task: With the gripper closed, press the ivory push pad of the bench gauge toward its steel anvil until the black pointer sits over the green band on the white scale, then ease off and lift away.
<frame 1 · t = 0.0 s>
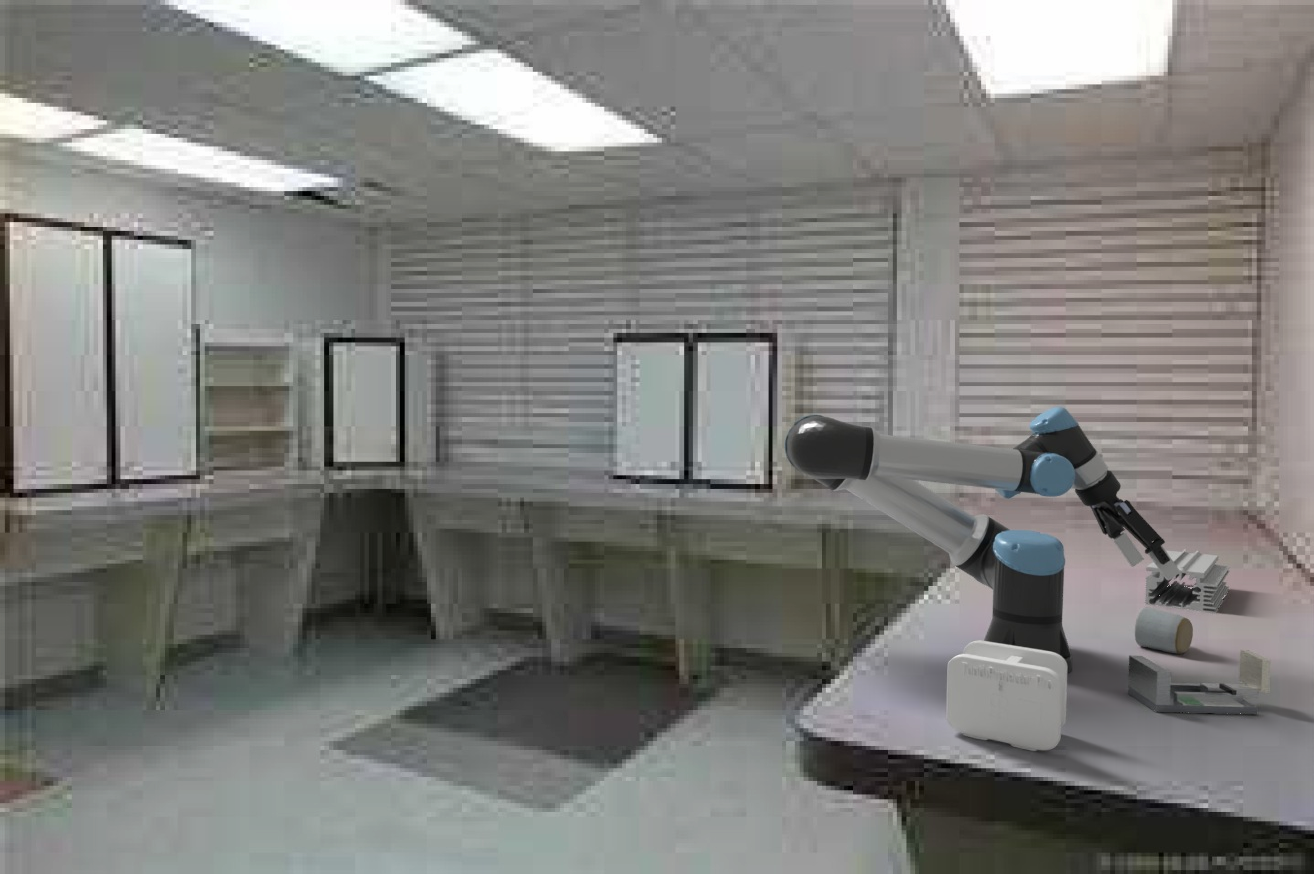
hand: (1155, 569, 172), 15 cm above the counter, tool tilted 35°, fingers open, 13 cm apart
cable organizer: (1007, 736, 126), on the counter
aluminum extrusion profile: (1188, 599, 219), on the counter
sliding gauge carriage: (1234, 676, 139), point 5 cm above the counter, slide at 0.0 cm
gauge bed: (1190, 703, 140), on the counter
grey tan cylinder: (1164, 649, 172), on the counter
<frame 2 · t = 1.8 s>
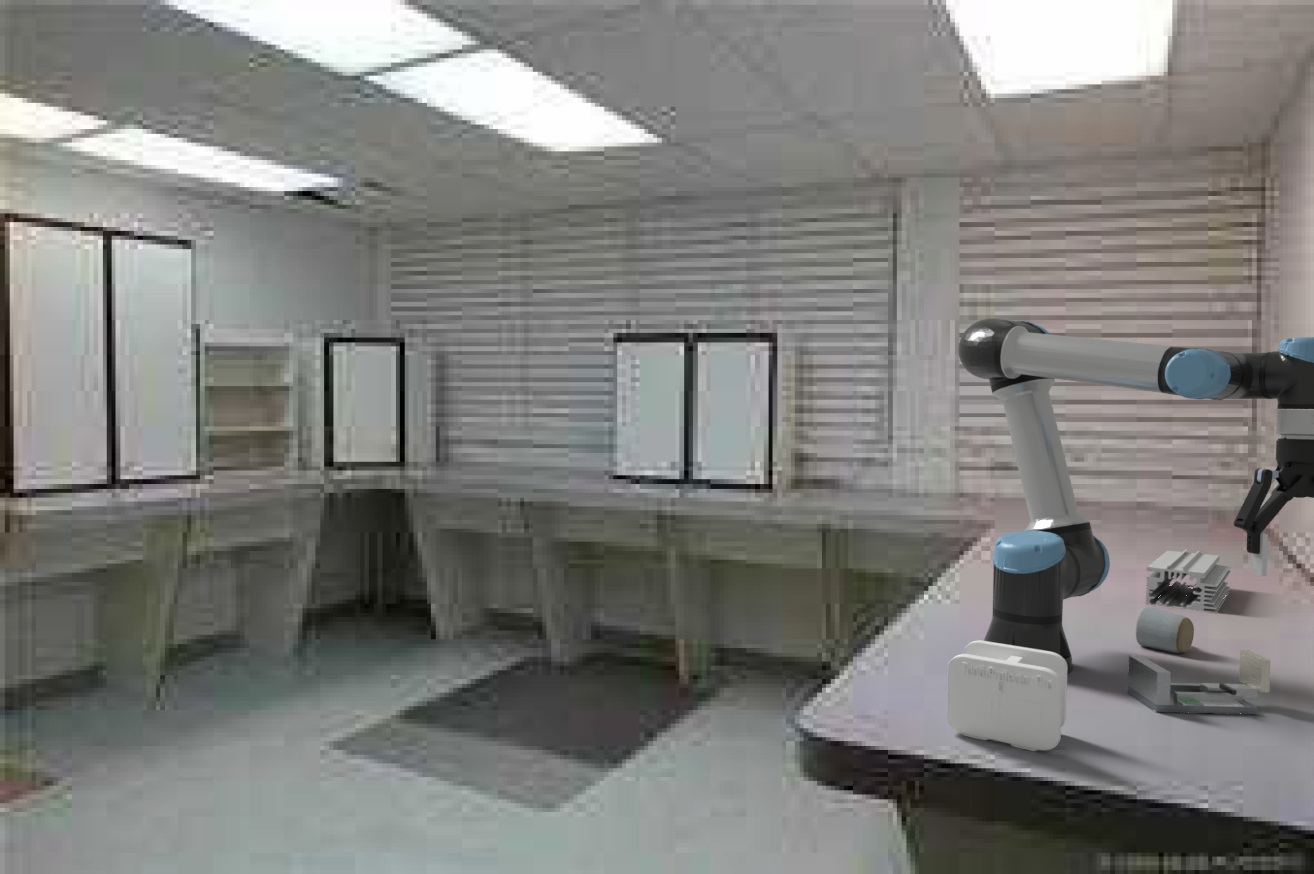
hand: (1301, 575, 139), 21 cm above the counter, tool pointing down, fingers open, 12 cm apart
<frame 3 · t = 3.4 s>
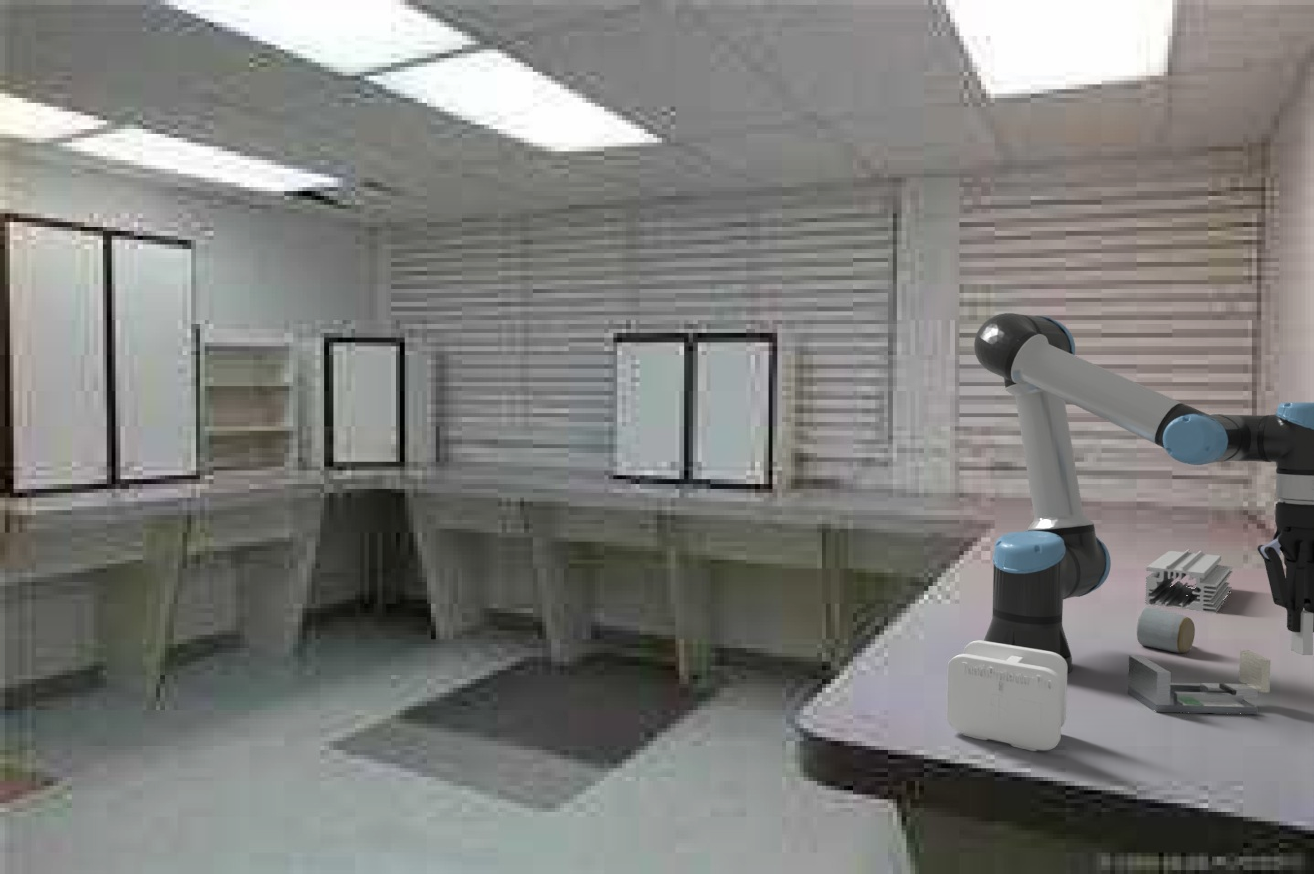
hand: (1301, 652, 139), 9 cm above the counter, tool pointing down, fingers closed
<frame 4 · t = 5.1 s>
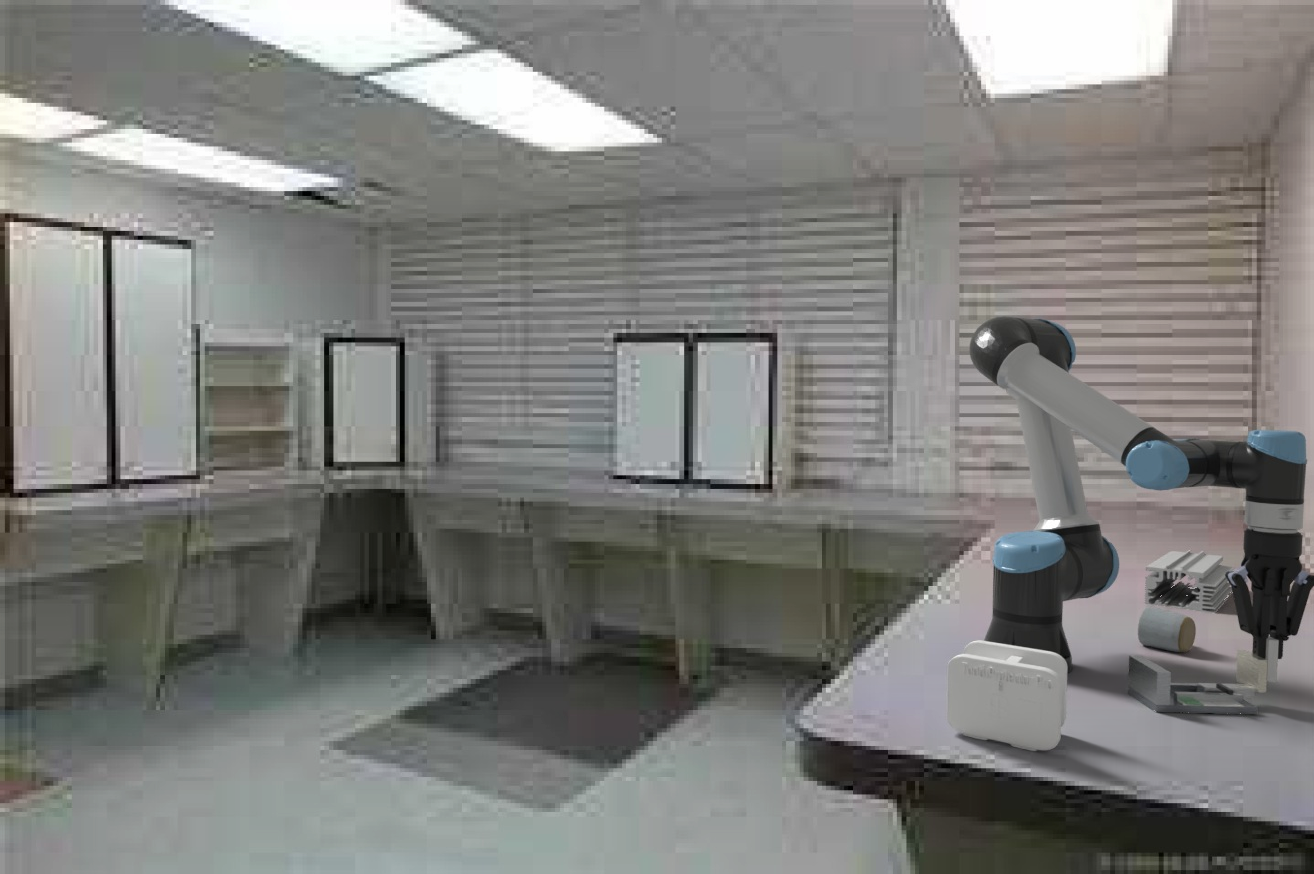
hand: (1266, 678, 140), 4 cm above the counter, tool pointing down, fingers closed
sliding gauge carriage: (1231, 676, 139), point 5 cm above the counter, slide at 0.5 cm, touching gripper
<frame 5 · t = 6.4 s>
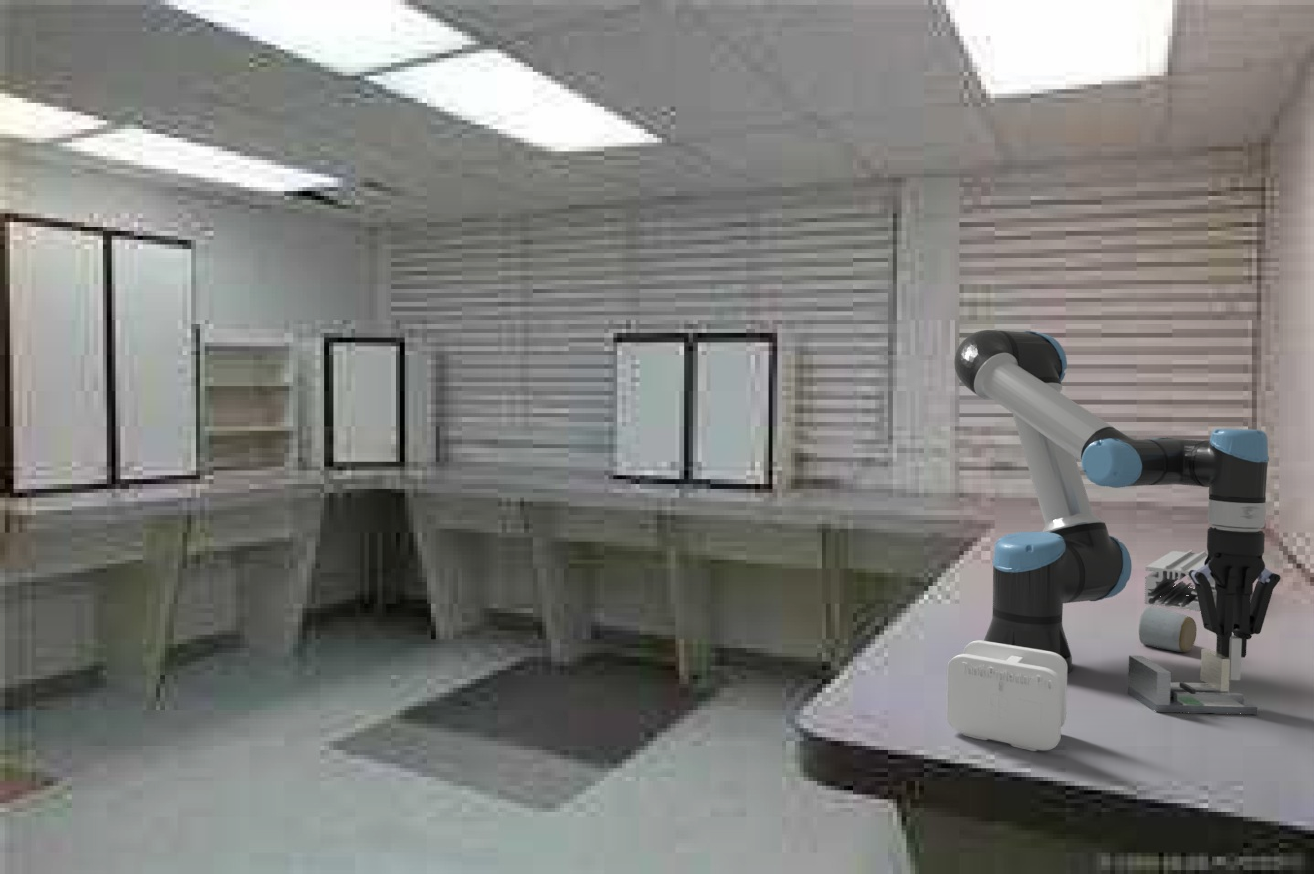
hand: (1230, 677, 140), 4 cm above the counter, tool pointing down, fingers closed
sliding gauge carriage: (1194, 675, 139), point 5 cm above the counter, slide at 6.0 cm, touching gripper
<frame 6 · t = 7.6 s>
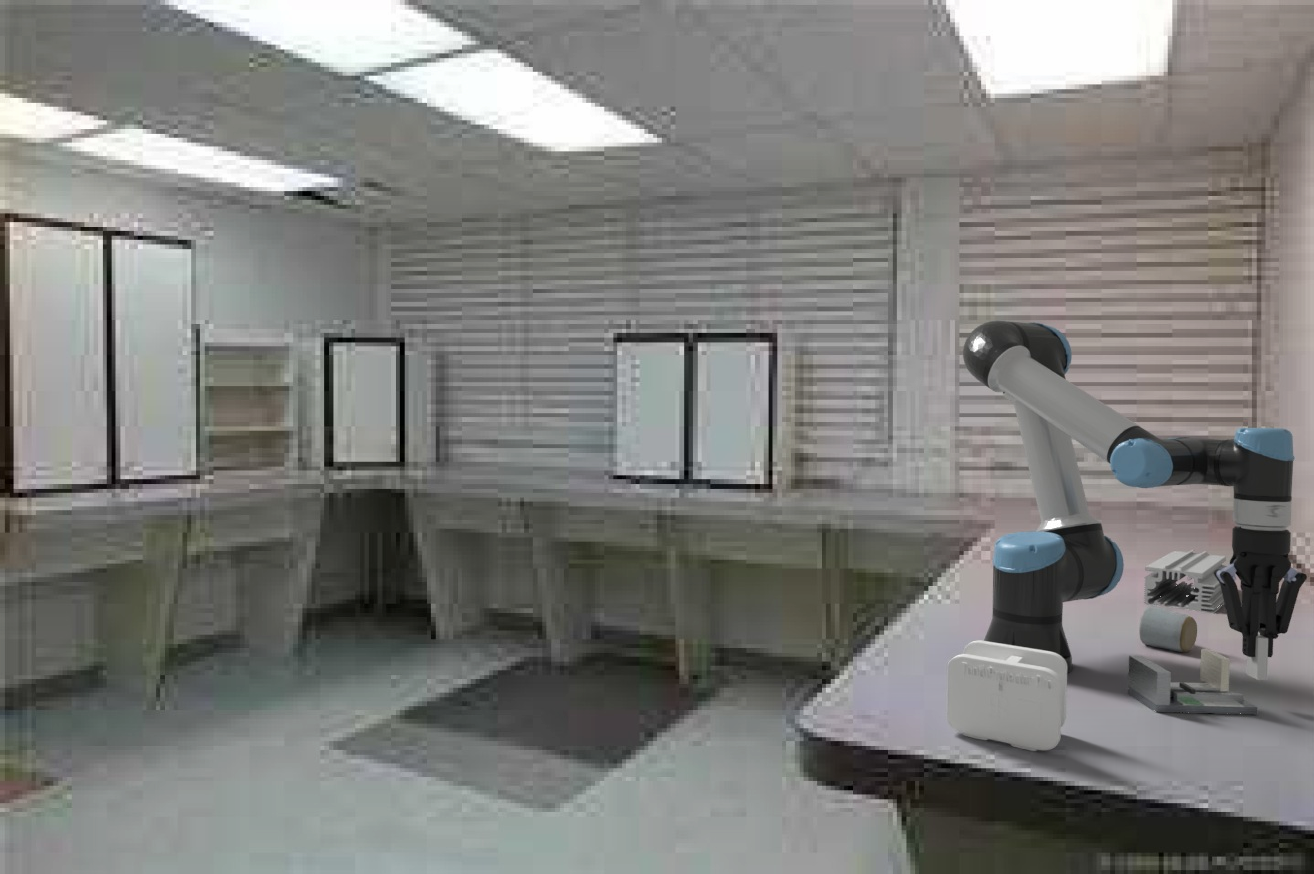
hand: (1256, 676, 139), 5 cm above the counter, tool pointing down, fingers closed
sliding gauge carriage: (1194, 675, 139), point 5 cm above the counter, slide at 6.1 cm
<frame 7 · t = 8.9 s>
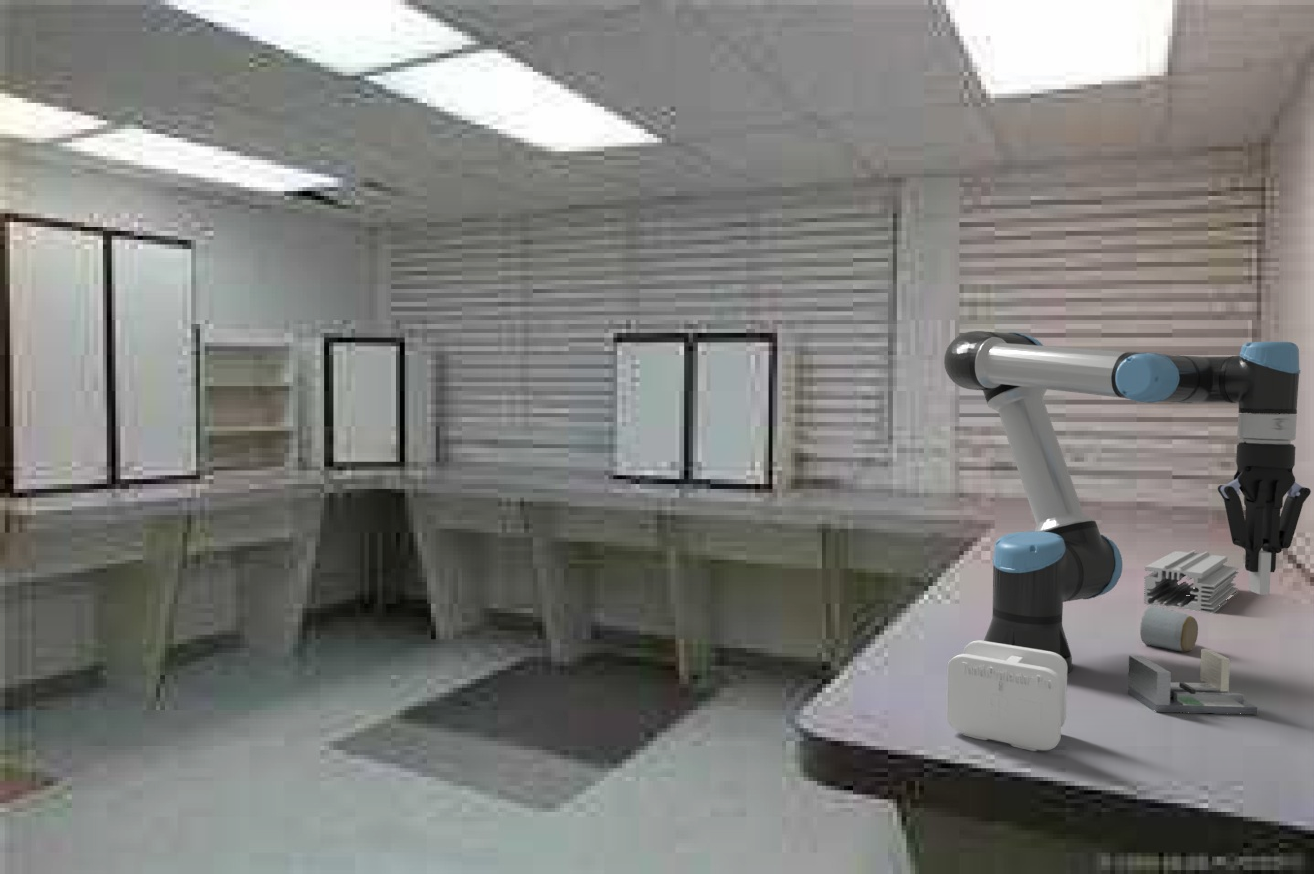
hand: (1259, 592, 139), 18 cm above the counter, tool pointing down, fingers closed
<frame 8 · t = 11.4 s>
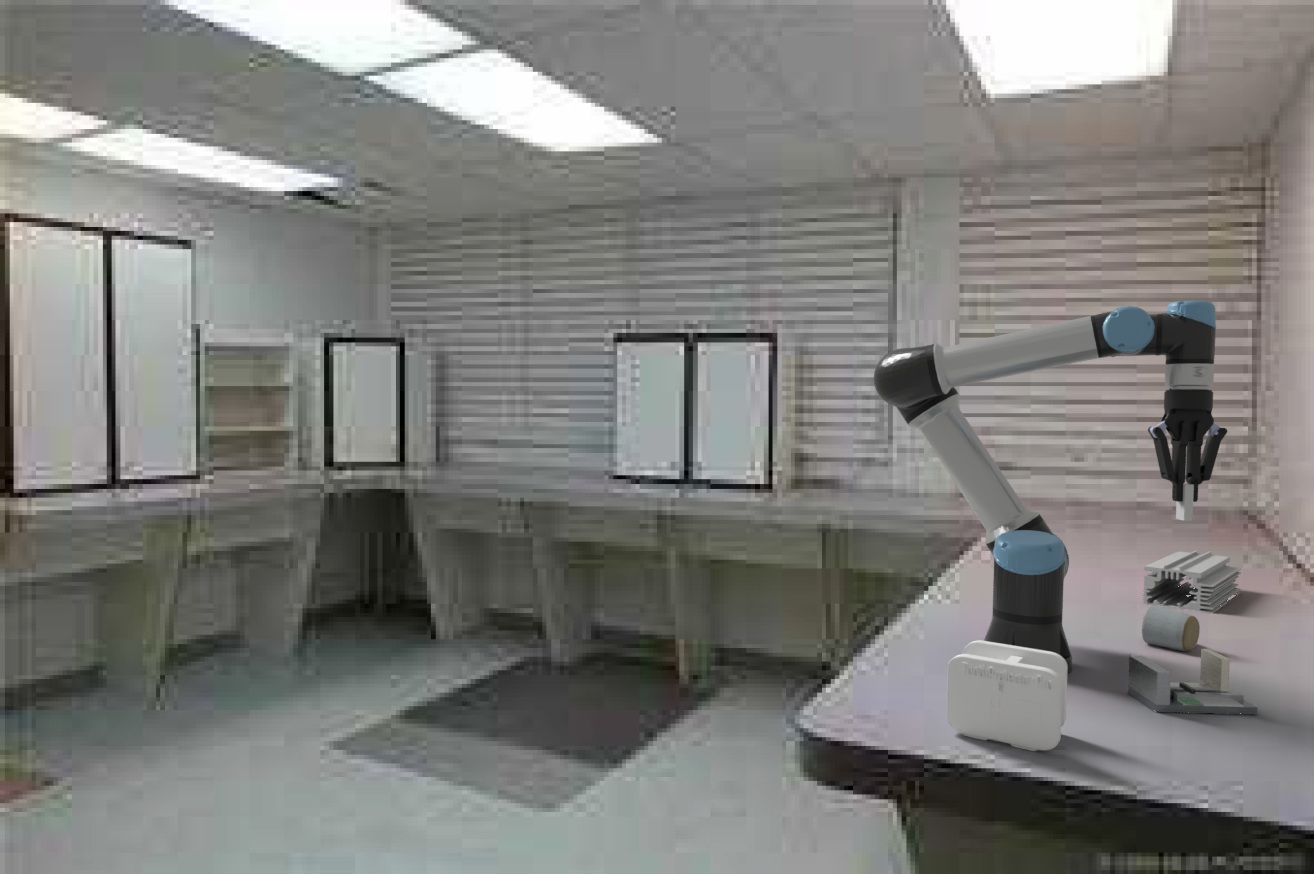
hand: (1184, 519, 160), 26 cm above the counter, tool pointing down, fingers closed
at the end: sliding gauge carriage slide at 6.1 cm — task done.
